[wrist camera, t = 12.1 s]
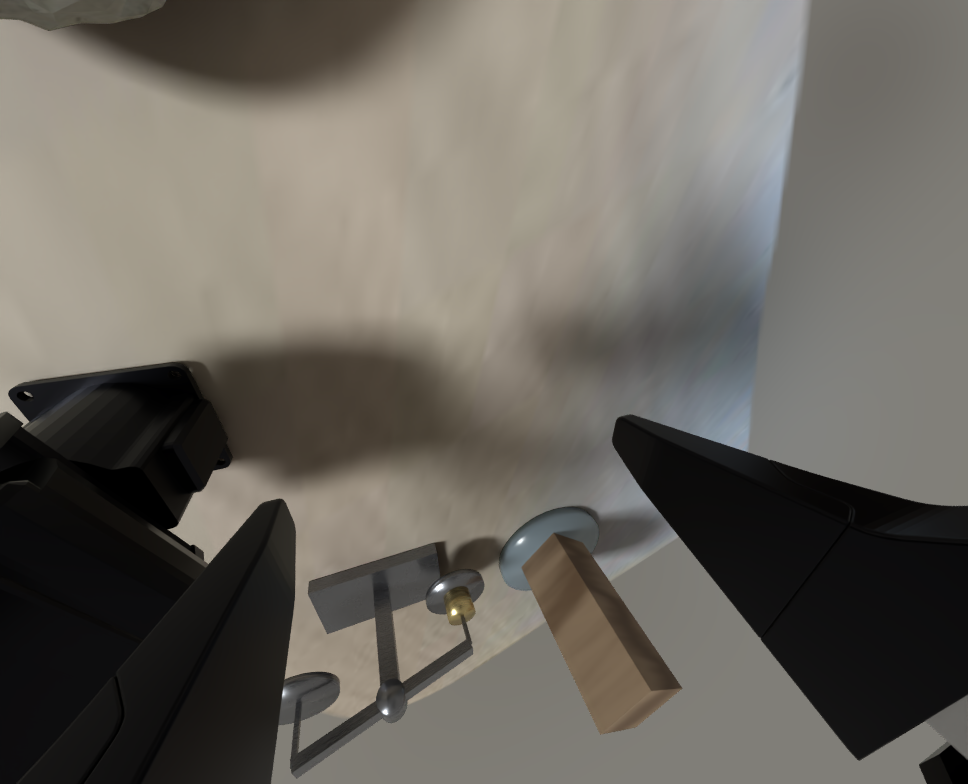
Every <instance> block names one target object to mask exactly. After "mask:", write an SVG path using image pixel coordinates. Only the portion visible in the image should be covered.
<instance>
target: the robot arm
mask: <svg viewBox="0 0 968 784" xmlns="http://www.w3.org/2000/svg"><path fill="white" fill-rule="evenodd" d="M171 371H177V372H179V373H180V374H181V376H180V377H178V376H174V375H173V374H172V373H171ZM24 392H28V393H31V394H32V395H33V397H30V396H27V395H26V394H25V393H24ZM8 395H9V397H10V399H11V400H12V401H13V403H14V404H15V405H16V406H17V407H18V409H19V410H20V411H21V412H22V413H23V415H24V416H25V417H26V418H27V419H28V421H29V423H28V424H26V425H25V426H24V427H21V426H22V425H23V423H22V422H21V421H19V420H18V419H16V418H15V417H14V416H12V415H11V414H9V413H8V412H3V413H0V784H271V777H272V770H273V762H274V754H275V747H276V740H277V732H278V724H279V717H280V709H281V702H282V694H283V686H284V679H285V671H286V664H287V656H288V648H289V641H290V633H291V626H292V618H293V610H294V601H295V554H296V530H295V524H294V521H293V519H292V516H291V514H290V512H289V509H288V507H287V505H286V503H285V501H284V500H283V499H275V500H271V501H267V502H264V503H262V504H260V505H259V506H258V508H257V509H256V510H255V511H254V512H253V513H252V515H251V516H250V517H249V518H248V519H247V520H246V522H245V523H244V524H243V525H242V526H241V527H240V528H239V530H238V531H237V532H236V533H235V534H234V535H233V537H232V538H231V539H230V540H229V541H228V542H227V544H226V545H225V546H224V547H223V548H222V549H221V551H220V552H219V553H218V554H217V555H216V556H215V557H214V559H213V560H212V561H211V562H210V563H209V564H207V563H206V562H205V561H204V552H203V551H202V550H201V549H199V548H198V547H197V546H195V545H191V546H190V545H189V544H187V543H186V542H185V541H183V540H182V539H180V538H179V537H177V536H176V535H175V534H173V533H172V532H170V531H169V530H167V529H171V528H174V527H176V526H177V525H178V524H179V522H180V520H181V518H182V516H183V514H184V512H185V509H186V507H187V505H188V503H189V501H190V499H191V497H192V495H193V493H196V492H201V491H202V490H203V489H204V487H205V486H206V484H207V482H208V480H209V478H210V476H211V474H212V472H213V471H214V470H218V469H223V468H226V467H228V466H229V465H230V463H231V461H232V454H231V452H230V450H229V448H228V446H227V444H226V442H227V440H228V437H227V435H226V433H225V431H224V429H223V427H222V425H221V423H220V421H219V419H218V417H217V415H216V413H215V411H214V409H213V407H212V405H211V402H209V401H208V400H206V399H204V398H203V396H202V394H201V392H200V390H199V388H198V386H197V384H196V382H195V380H194V378H193V376H192V374H191V372H190V370H189V369H188V368H187V367H186V366H185V365H183V364H180V363H167V364H160V365H152V366H145V367H137V368H129V369H122V370H114V371H107V372H99V373H92V374H84V375H77V376H69V377H62V378H54V379H47V380H39V381H32V382H24V383H21V384H18V385H17V386H15V387H13V388H12V389H11V390H9V393H8ZM612 443H613V446H614V448H615V449H616V451H617V453H618V454H619V456H620V457H621V459H622V460H623V462H624V463H625V465H626V466H627V468H628V469H629V471H630V473H631V474H632V476H633V477H634V479H635V480H636V482H637V483H638V485H639V486H640V488H641V489H642V490H643V492H644V493H645V494H646V496H647V497H648V498H649V499H650V501H651V502H652V503H653V504H654V506H655V507H656V508H657V509H658V511H659V512H660V513H661V514H662V516H663V517H664V518H665V520H666V521H667V522H668V523H669V525H670V526H671V527H672V528H673V530H674V531H675V532H676V533H677V535H678V536H679V537H680V538H681V540H682V541H683V542H684V543H685V545H686V546H687V547H688V548H689V550H690V551H691V552H692V553H693V555H694V556H695V557H696V559H697V560H698V561H699V562H700V564H701V565H702V566H703V567H704V569H705V570H706V571H707V572H708V573H709V575H710V576H711V577H712V579H713V580H714V581H715V582H716V584H717V585H718V586H719V587H720V589H721V590H722V591H723V592H724V594H725V595H726V596H727V598H728V599H729V600H730V601H731V602H732V604H733V605H734V606H735V607H736V609H737V610H738V611H739V613H740V614H741V615H742V616H743V618H744V619H745V620H746V621H747V623H748V624H749V625H750V626H751V628H752V629H753V630H754V632H755V633H756V634H757V635H758V637H760V638H761V640H762V642H763V643H764V644H765V645H766V647H767V648H768V649H769V651H770V652H771V653H772V655H773V656H774V657H775V658H776V660H777V661H778V662H779V663H780V664H781V666H782V667H783V668H784V669H785V671H786V672H787V673H788V675H789V676H790V677H791V678H792V680H793V681H794V682H795V683H796V685H797V686H798V687H799V688H800V690H801V691H802V692H803V693H804V695H805V696H806V697H807V699H808V700H809V701H810V702H811V704H812V705H813V706H814V707H815V709H816V710H817V711H818V712H819V714H820V715H821V716H822V718H823V719H824V720H825V721H826V723H827V724H828V725H829V726H830V728H831V729H832V730H833V731H834V733H835V734H836V735H837V736H838V738H839V739H840V740H841V741H842V743H843V744H844V745H845V746H846V748H847V749H848V750H849V751H850V752H851V753H852V754H853V755H854V756H855V758H857V760H859V761H860V760H862V759H863V758H865V757H866V756H868V755H870V754H871V753H873V752H875V751H876V750H878V749H880V748H881V747H883V746H885V745H886V744H888V743H890V742H891V741H893V740H895V739H896V738H898V737H899V736H901V735H902V734H904V733H906V732H908V731H909V730H911V729H912V728H914V727H916V726H917V725H919V724H921V723H923V722H924V721H925V722H926V723H927V724H929V725H930V726H931V727H932V728H933V729H934V730H935V731H936V732H937V733H939V735H941V736H942V737H943V738H944V739H945V740H946V741H947V742H946V743H945V744H944V745H943V746H941V747H940V748H939V749H937V750H936V751H935V752H934V753H933V754H931V755H930V756H929V757H928V758H926V759H925V760H924V761H923V762H921V763H920V764H919V766H920V769H921V771H922V773H923V775H924V778H925V780H926V783H927V784H968V506H941V505H932V504H925V503H920V502H915V501H911V500H907V499H902V498H899V497H896V496H892V495H888V494H885V493H881V492H878V491H874V490H871V489H867V488H863V487H860V486H856V485H853V484H849V483H846V482H842V481H838V480H835V479H831V478H828V477H824V476H821V475H817V474H814V473H811V472H808V471H804V470H801V469H798V468H795V467H791V466H788V465H785V464H782V463H779V462H776V461H773V460H768V459H766V458H764V457H761V456H758V455H754V454H751V453H748V452H745V451H742V450H739V449H736V448H733V447H730V446H727V445H724V444H721V443H718V442H714V441H711V440H708V439H705V438H702V437H699V436H696V435H693V434H690V433H687V432H684V431H681V430H678V429H674V428H671V427H668V426H665V425H662V424H659V423H656V422H653V421H650V420H647V419H644V418H641V417H638V416H635V415H625V416H621V417H619V418H617V420H616V423H615V428H614V432H613V437H612ZM219 458H222V459H224V460H225V461H220V460H218V459H219Z"/></svg>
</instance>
